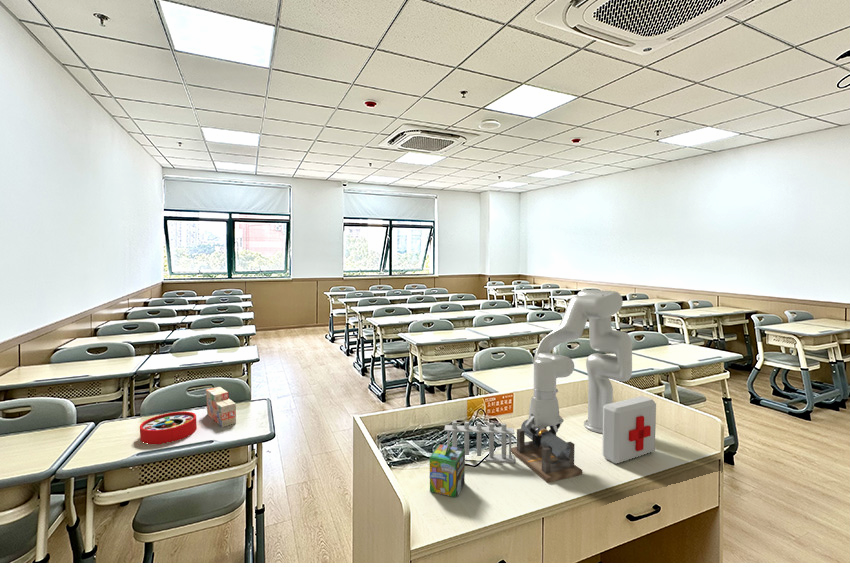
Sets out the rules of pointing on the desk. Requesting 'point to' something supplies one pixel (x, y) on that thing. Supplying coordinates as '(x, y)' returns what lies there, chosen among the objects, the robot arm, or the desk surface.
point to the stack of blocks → (220, 406)
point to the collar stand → (544, 460)
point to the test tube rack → (490, 430)
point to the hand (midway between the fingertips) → (544, 443)
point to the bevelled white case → (628, 429)
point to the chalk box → (447, 470)
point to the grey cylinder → (550, 442)
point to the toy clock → (168, 427)
